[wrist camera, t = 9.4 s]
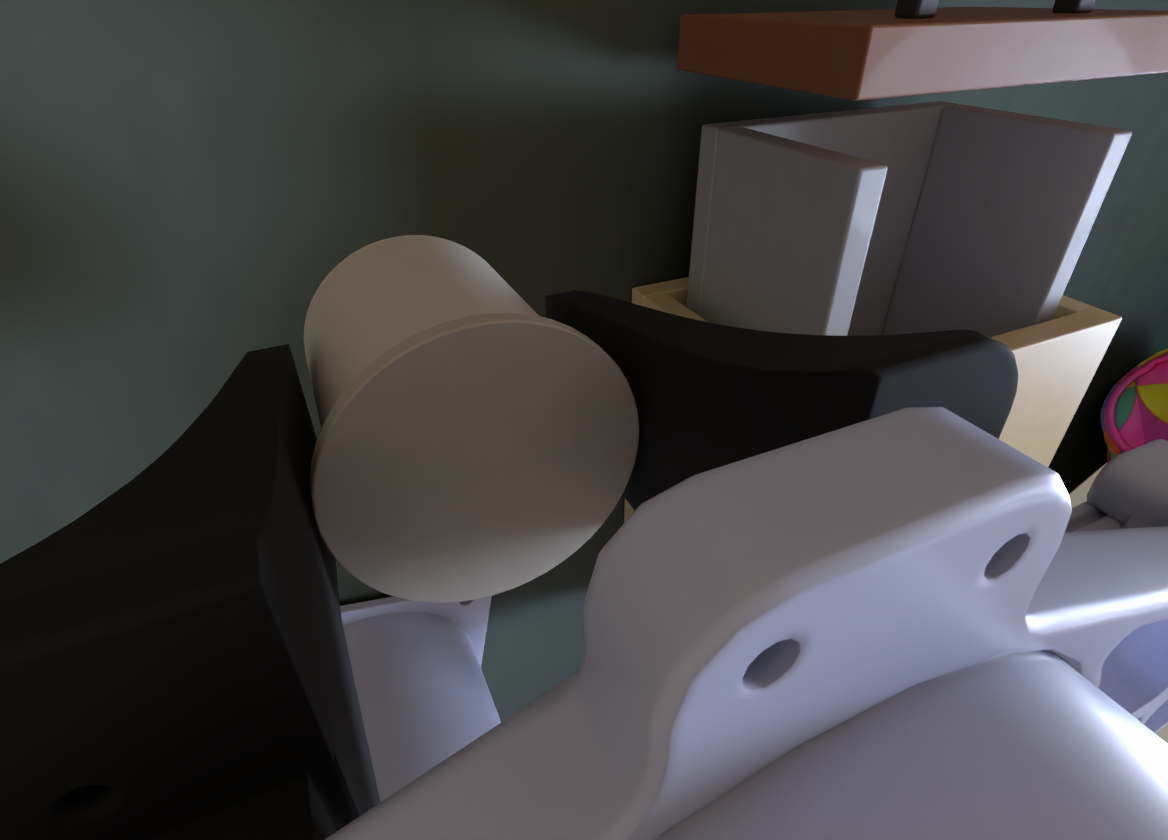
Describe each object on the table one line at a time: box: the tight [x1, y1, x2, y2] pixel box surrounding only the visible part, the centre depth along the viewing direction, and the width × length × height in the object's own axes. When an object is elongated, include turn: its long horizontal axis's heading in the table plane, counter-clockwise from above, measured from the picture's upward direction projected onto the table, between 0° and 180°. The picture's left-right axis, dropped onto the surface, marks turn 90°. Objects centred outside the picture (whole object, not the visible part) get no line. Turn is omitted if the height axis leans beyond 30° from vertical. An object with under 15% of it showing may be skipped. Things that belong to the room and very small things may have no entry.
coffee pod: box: [304, 235, 639, 603], centre depth 11 cm, size 5×5×5 cm
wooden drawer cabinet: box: [624, 277, 1122, 523], centre depth 23 cm, size 14×12×8 cm
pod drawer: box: [677, 0, 1168, 337], centre depth 18 cm, size 17×10×6 cm, turn 179°
